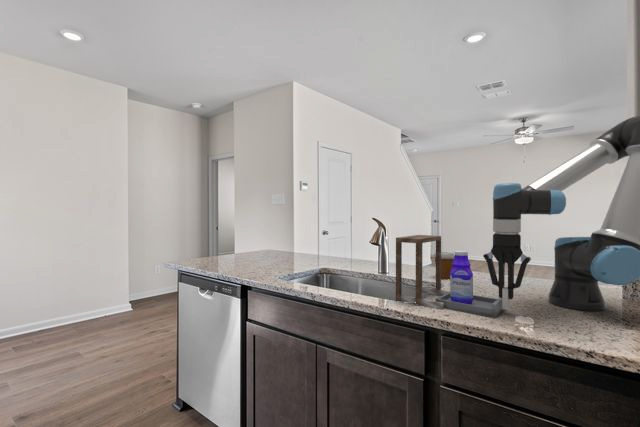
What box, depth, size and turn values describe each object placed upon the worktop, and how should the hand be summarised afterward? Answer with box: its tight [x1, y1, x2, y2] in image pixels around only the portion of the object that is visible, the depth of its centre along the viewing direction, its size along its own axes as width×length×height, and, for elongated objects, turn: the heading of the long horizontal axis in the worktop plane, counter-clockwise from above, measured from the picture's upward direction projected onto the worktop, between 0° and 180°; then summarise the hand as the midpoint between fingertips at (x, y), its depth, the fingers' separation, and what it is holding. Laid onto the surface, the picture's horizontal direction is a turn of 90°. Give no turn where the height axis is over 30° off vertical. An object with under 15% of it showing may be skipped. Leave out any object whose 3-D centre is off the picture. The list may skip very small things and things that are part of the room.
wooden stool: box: [395, 234, 450, 310], centre depth 117 cm, size 16×19×22 cm
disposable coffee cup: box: [433, 251, 455, 280], centre depth 154 cm, size 10×10×12 cm
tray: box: [435, 292, 504, 319], centre depth 108 cm, size 18×14×4 cm
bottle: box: [449, 250, 474, 304], centre depth 110 cm, size 7×6×17 cm
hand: (505, 308), depth 101 cm, fingers closed
